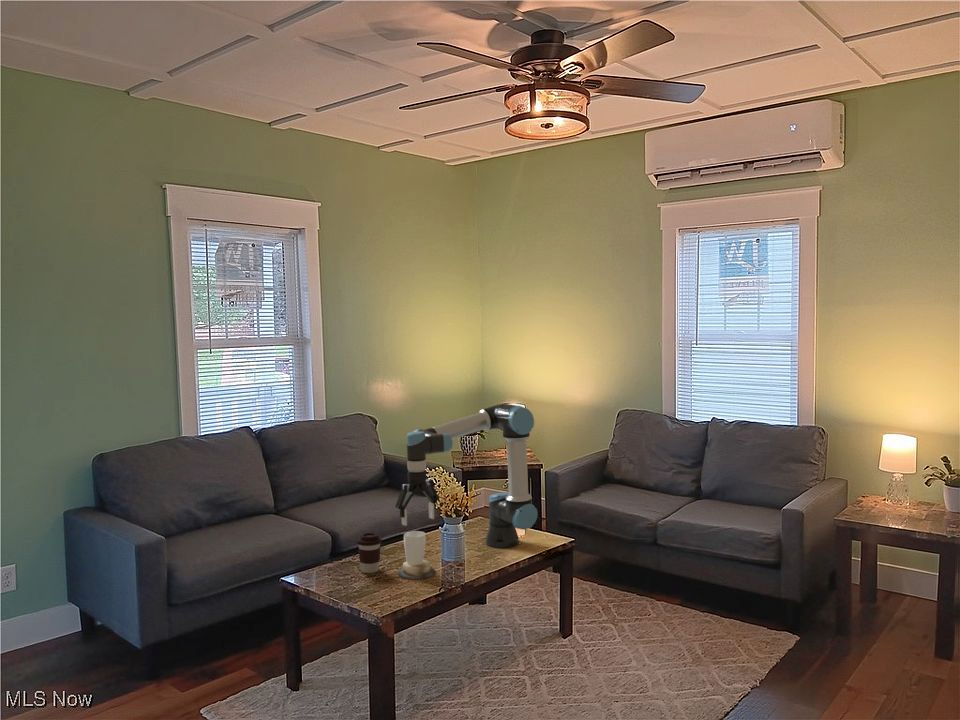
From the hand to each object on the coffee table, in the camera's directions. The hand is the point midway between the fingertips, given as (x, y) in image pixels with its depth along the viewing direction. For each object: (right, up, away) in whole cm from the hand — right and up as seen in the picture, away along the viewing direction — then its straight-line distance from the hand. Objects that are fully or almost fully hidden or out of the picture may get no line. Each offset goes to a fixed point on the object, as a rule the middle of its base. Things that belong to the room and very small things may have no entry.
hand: (418, 521), depth 321 cm
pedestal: (-1, -21, 0) cm, 21 cm away
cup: (-1, -17, 0) cm, 17 cm away
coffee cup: (-20, -21, +3) cm, 29 cm away
